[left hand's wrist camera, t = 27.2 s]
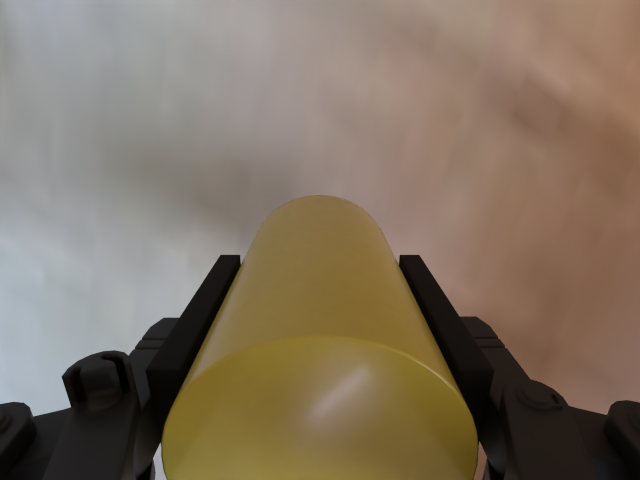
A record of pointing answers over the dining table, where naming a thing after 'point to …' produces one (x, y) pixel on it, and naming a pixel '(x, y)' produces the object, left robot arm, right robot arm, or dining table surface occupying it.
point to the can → (319, 365)
